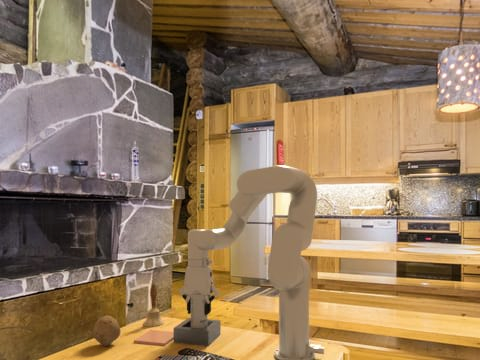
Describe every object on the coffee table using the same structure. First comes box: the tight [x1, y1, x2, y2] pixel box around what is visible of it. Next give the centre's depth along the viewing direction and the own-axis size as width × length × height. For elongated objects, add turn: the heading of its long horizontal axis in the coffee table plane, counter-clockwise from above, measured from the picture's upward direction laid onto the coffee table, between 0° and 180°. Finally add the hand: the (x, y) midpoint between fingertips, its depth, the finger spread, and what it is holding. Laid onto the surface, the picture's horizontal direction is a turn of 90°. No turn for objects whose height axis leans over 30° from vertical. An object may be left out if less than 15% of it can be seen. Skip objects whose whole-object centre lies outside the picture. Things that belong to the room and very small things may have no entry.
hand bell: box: [142, 283, 165, 328], centre depth 158 cm, size 8×8×16 cm
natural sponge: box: [92, 315, 121, 347], centre depth 133 cm, size 9×9×10 cm
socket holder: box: [172, 317, 221, 347], centre depth 140 cm, size 13×13×5 cm
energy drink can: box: [190, 291, 208, 329], centre depth 140 cm, size 6×6×15 cm
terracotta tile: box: [133, 329, 174, 346], centre depth 140 cm, size 12×12×1 cm
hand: (198, 313), depth 140 cm, fingers closed on energy drink can, 6 cm apart
